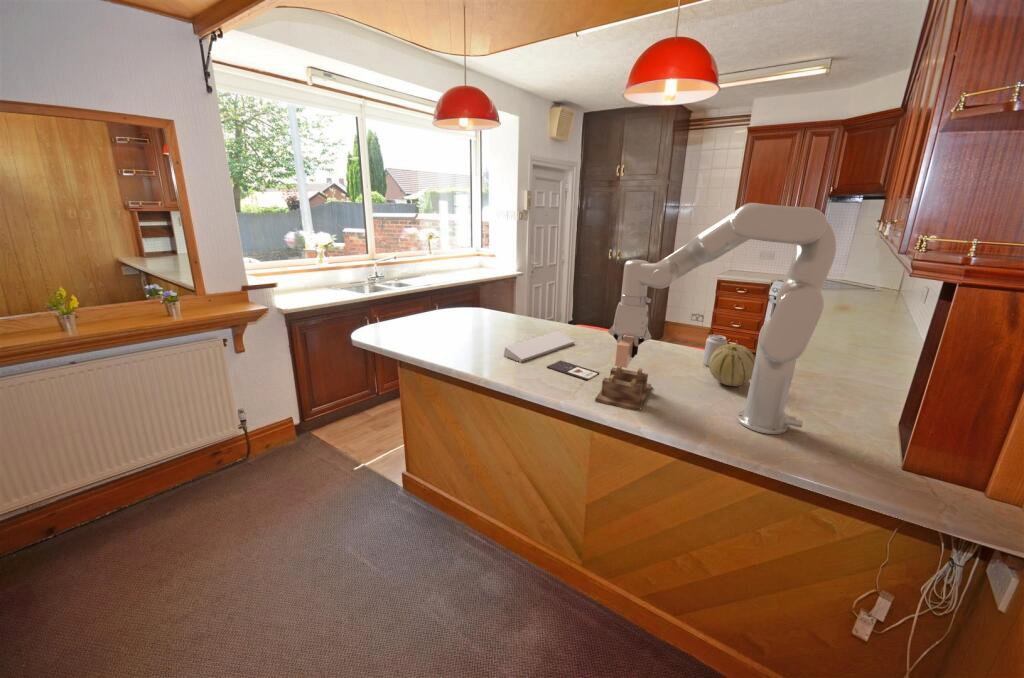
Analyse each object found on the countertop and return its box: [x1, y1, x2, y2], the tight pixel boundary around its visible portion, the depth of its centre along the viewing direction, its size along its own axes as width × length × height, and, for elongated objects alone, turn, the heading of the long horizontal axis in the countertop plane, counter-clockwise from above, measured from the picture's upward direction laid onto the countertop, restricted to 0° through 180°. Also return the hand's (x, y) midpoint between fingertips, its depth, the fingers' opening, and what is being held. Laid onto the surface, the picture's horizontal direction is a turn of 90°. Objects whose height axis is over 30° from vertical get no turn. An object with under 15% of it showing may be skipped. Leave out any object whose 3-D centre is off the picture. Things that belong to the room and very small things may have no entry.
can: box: [702, 334, 728, 368], centre depth 162 cm, size 8×8×12 cm
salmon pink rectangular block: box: [614, 335, 634, 369], centre depth 134 cm, size 4×16×7 cm, turn 152°
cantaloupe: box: [708, 343, 756, 387], centre depth 145 cm, size 15×15×15 cm
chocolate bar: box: [546, 360, 600, 381], centre depth 158 cm, size 9×1×18 cm
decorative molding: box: [503, 330, 576, 363], centre depth 180 cm, size 34×5×10 cm
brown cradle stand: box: [594, 366, 652, 412], centre depth 138 cm, size 14×20×8 cm
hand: (627, 354), depth 135 cm, fingers closed on salmon pink rectangular block, 3 cm apart
